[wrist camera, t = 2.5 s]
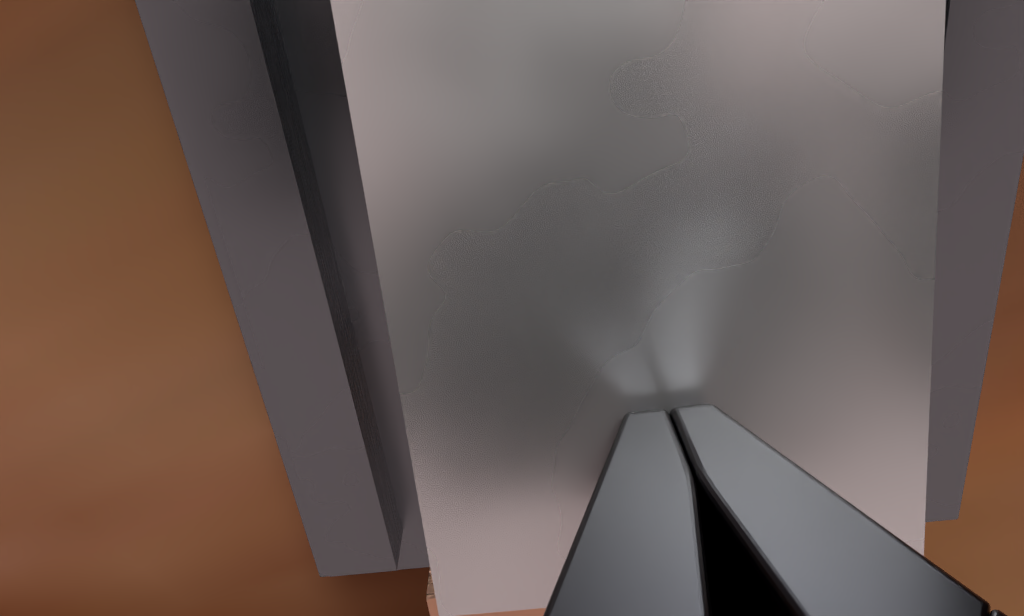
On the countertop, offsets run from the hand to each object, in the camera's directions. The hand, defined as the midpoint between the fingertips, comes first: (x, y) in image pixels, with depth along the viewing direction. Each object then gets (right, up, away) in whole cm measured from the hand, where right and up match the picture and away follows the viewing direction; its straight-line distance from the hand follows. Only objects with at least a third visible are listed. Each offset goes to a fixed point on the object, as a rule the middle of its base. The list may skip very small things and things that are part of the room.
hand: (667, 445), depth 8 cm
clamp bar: (-1, +7, -1) cm, 7 cm away
